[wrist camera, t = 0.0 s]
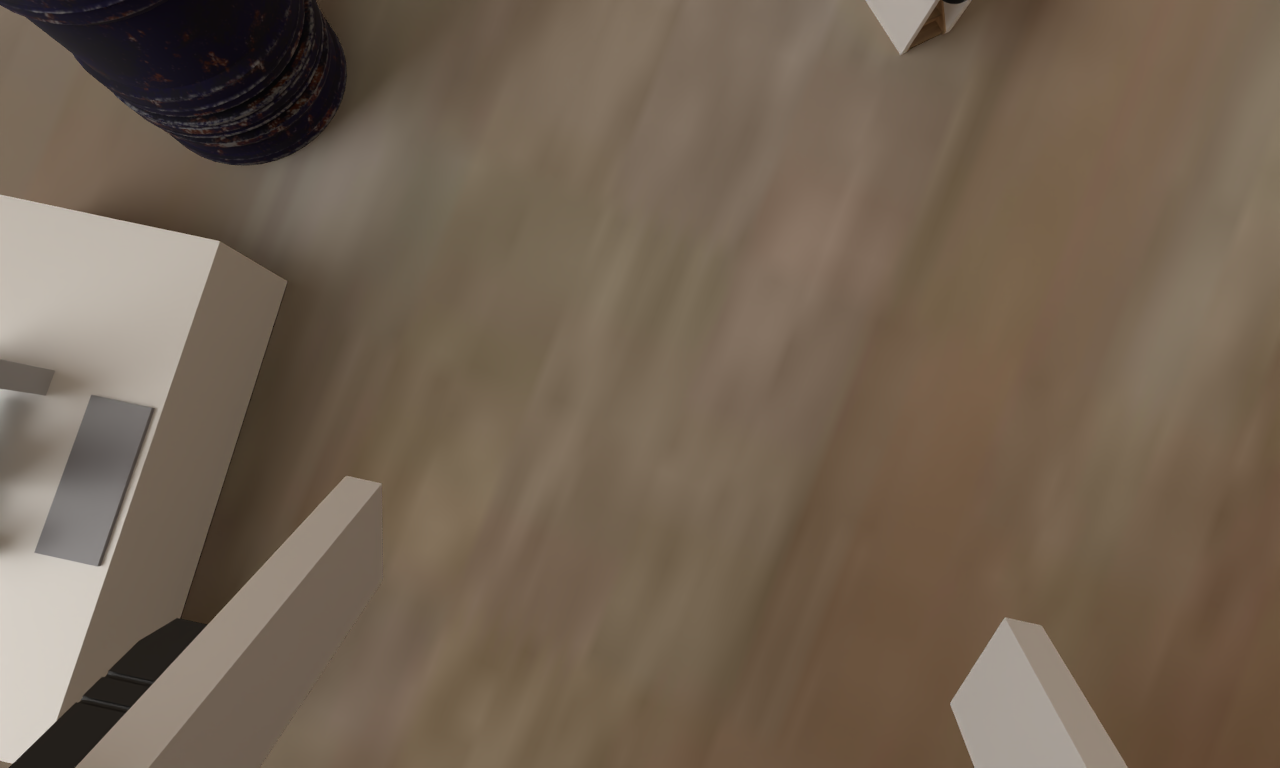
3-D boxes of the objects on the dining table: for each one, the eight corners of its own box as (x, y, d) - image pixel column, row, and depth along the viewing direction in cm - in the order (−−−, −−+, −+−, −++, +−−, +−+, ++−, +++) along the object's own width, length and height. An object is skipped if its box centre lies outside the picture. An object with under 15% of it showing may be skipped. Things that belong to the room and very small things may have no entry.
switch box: (149, 716, 27) (-54, 814, 19) (-119, 656, 27) (-432, 729, 19) (287, 281, 30) (164, 208, 22) (48, 230, 30) (-160, 139, 22)
